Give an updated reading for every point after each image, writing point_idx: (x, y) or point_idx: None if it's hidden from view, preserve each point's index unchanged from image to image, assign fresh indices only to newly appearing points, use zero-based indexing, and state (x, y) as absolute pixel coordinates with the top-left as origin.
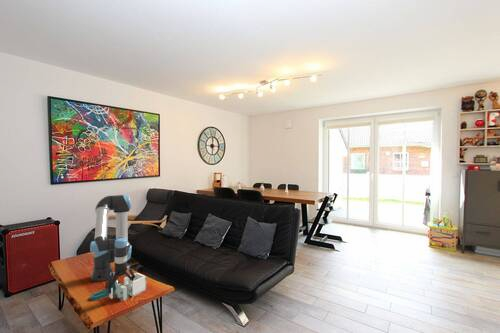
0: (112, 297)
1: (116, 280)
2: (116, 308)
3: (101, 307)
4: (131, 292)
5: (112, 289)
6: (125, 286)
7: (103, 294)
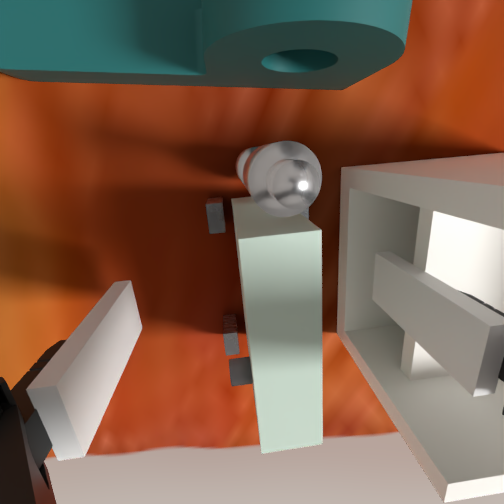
0: (137, 333)
1: (299, 179)
2: (150, 405)
3: (40, 301)
4: (364, 291)
5: (90, 434)
6: (319, 415)
7: (89, 71)
